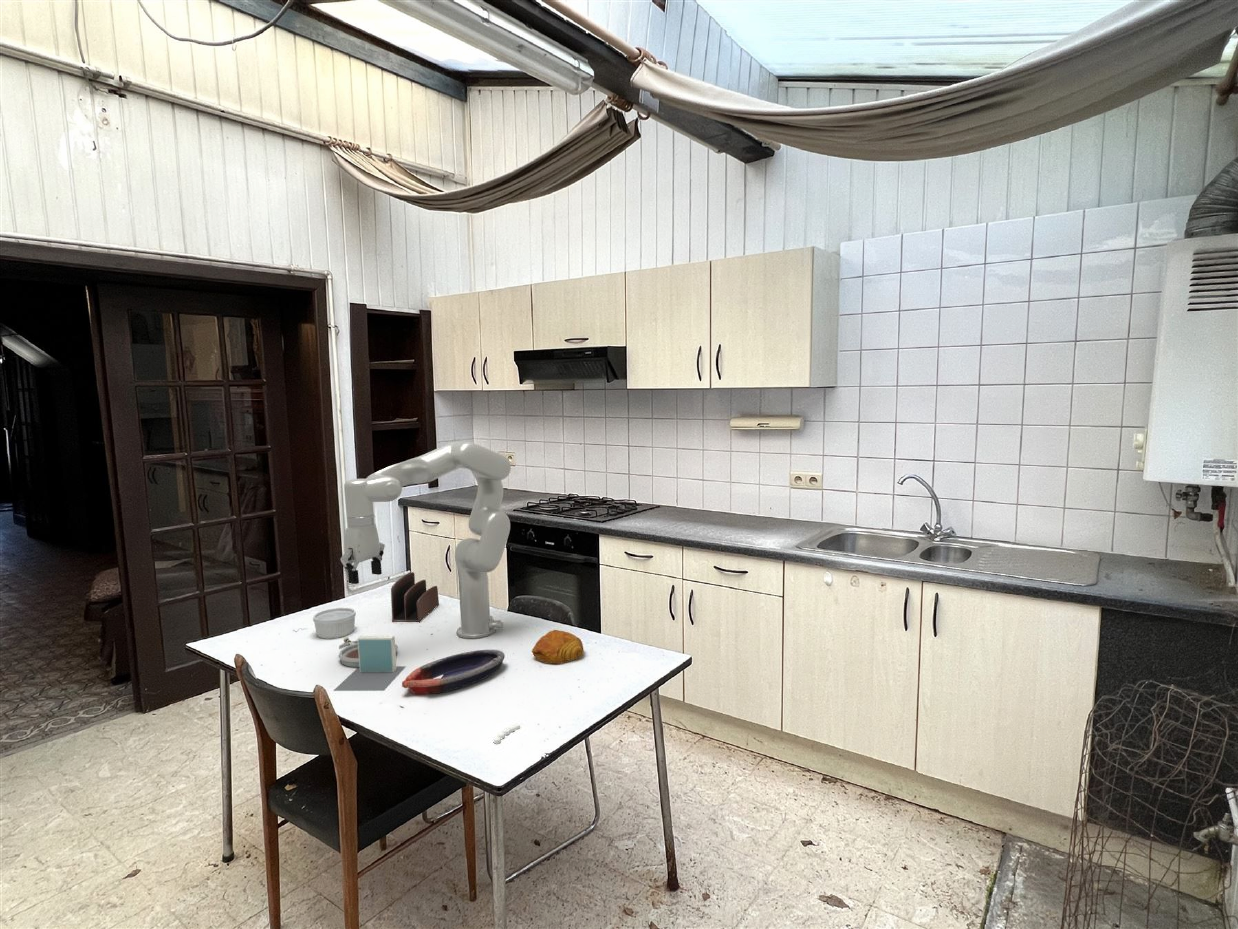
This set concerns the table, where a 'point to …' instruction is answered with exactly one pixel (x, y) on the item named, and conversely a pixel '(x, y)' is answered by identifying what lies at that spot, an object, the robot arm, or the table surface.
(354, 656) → the oval picture frame
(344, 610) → the ramekin
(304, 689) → the table surface
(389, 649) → the tile
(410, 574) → the letter holder
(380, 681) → the mat
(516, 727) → the white bumpy strip
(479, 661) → the dish
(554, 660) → the croissant
